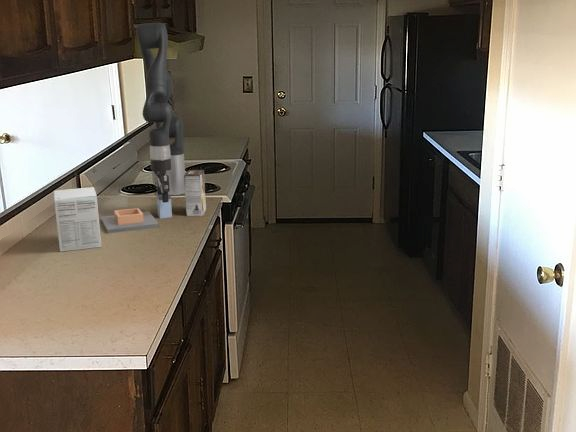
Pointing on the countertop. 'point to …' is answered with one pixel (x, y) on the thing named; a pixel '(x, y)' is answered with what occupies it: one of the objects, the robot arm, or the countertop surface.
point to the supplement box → (77, 219)
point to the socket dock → (128, 220)
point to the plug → (164, 207)
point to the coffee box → (195, 192)
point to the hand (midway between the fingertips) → (163, 199)
